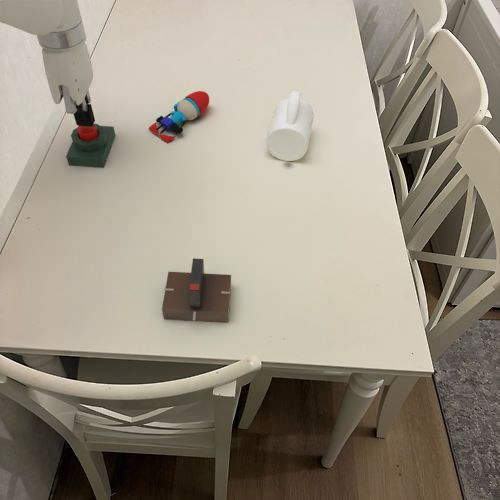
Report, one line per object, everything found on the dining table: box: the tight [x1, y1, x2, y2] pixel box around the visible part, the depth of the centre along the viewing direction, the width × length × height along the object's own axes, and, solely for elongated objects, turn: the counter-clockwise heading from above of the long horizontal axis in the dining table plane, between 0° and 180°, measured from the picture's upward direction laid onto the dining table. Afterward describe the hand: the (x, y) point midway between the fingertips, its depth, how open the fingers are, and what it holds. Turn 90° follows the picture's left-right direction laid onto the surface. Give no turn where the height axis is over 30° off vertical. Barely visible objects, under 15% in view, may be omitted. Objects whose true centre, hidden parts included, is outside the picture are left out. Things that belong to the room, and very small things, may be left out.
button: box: [76, 123, 98, 141], centre depth 95 cm, size 4×4×2 cm
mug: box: [266, 89, 315, 162], centre depth 97 cm, size 8×10×12 cm
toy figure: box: [148, 90, 210, 144], centre depth 103 cm, size 8×5×15 cm
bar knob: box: [188, 258, 205, 308], centre depth 73 cm, size 6×2×5 cm, turn 178°
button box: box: [65, 123, 116, 169], centre depth 97 cm, size 10×7×4 cm
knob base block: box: [161, 271, 232, 323], centre depth 76 cm, size 10×10×3 cm
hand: (86, 123), depth 93 cm, fingers closed
